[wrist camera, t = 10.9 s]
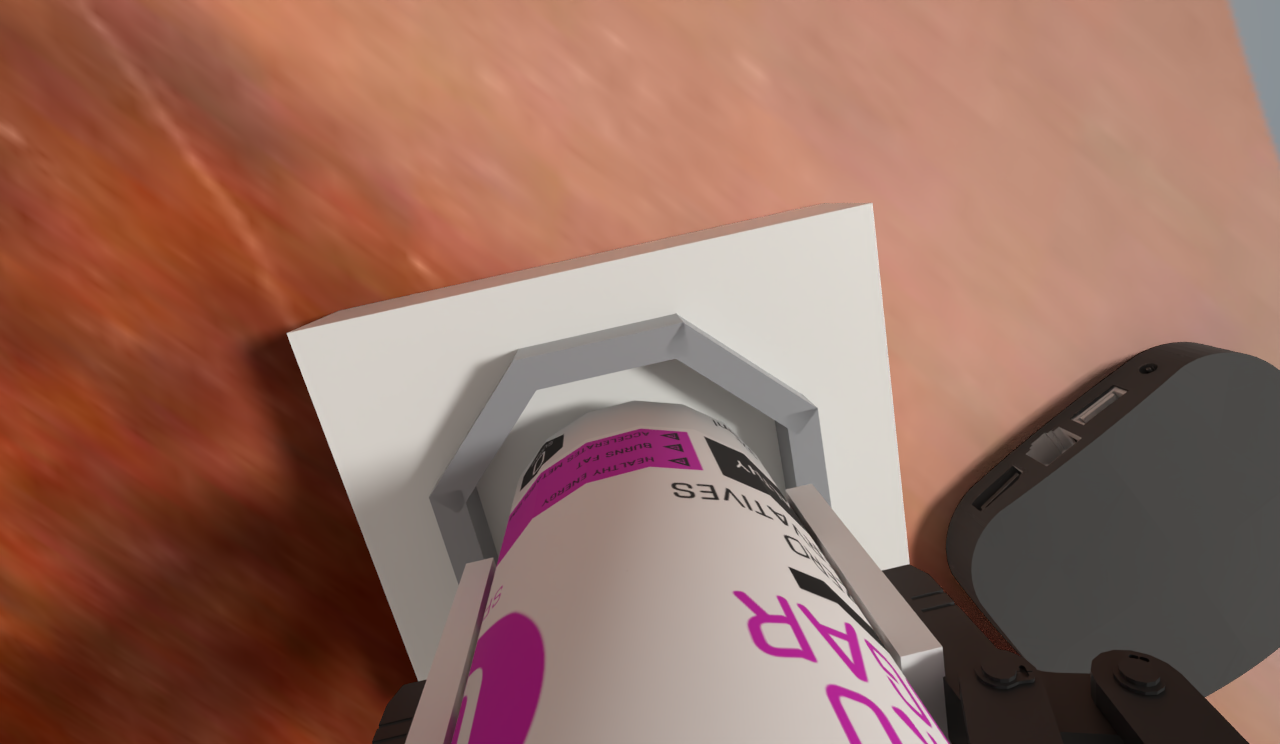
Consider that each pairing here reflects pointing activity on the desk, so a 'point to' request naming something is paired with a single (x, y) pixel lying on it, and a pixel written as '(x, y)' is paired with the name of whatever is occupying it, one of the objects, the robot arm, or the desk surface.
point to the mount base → (607, 386)
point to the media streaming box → (1138, 521)
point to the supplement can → (672, 603)
